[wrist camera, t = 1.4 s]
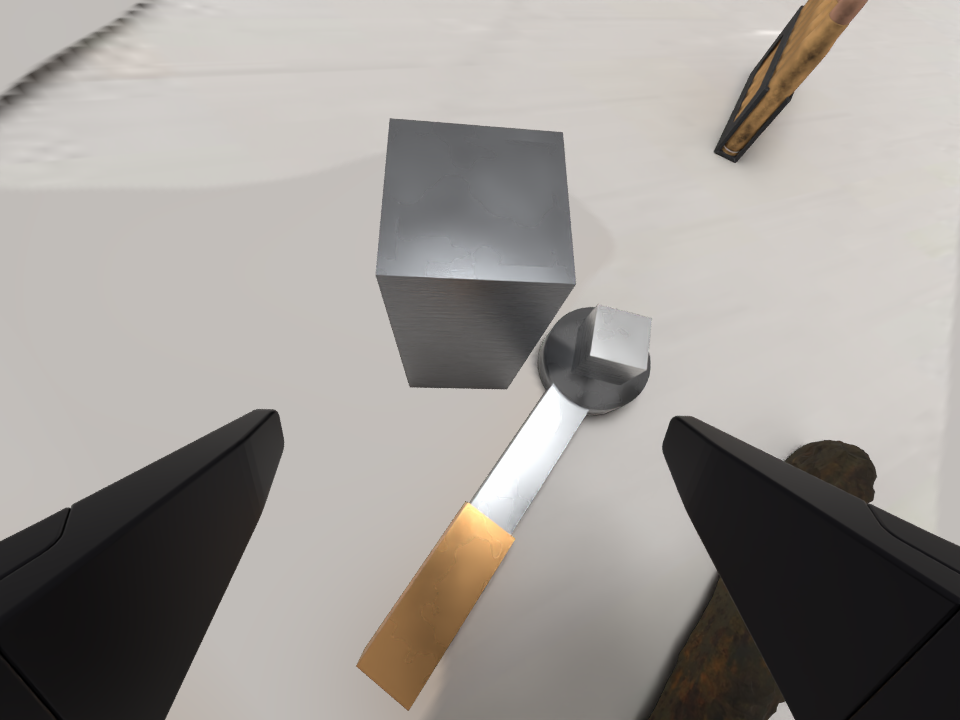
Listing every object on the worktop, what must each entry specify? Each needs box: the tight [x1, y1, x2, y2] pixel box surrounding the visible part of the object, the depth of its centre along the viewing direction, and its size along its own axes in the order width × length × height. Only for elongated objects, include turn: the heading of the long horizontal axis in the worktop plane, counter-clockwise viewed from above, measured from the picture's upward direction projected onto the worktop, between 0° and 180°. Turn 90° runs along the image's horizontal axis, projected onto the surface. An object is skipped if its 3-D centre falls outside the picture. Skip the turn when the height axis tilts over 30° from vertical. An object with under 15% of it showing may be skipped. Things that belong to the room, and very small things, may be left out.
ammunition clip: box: [714, 0, 868, 163], centre depth 27 cm, size 11×2×12 cm, turn 150°
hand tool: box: [648, 440, 877, 720], centre depth 19 cm, size 19×4×5 cm, turn 139°
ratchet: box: [356, 304, 652, 711], centre depth 19 cm, size 22×6×5 cm, turn 144°
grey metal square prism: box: [376, 118, 576, 389], centre depth 18 cm, size 6×6×12 cm
